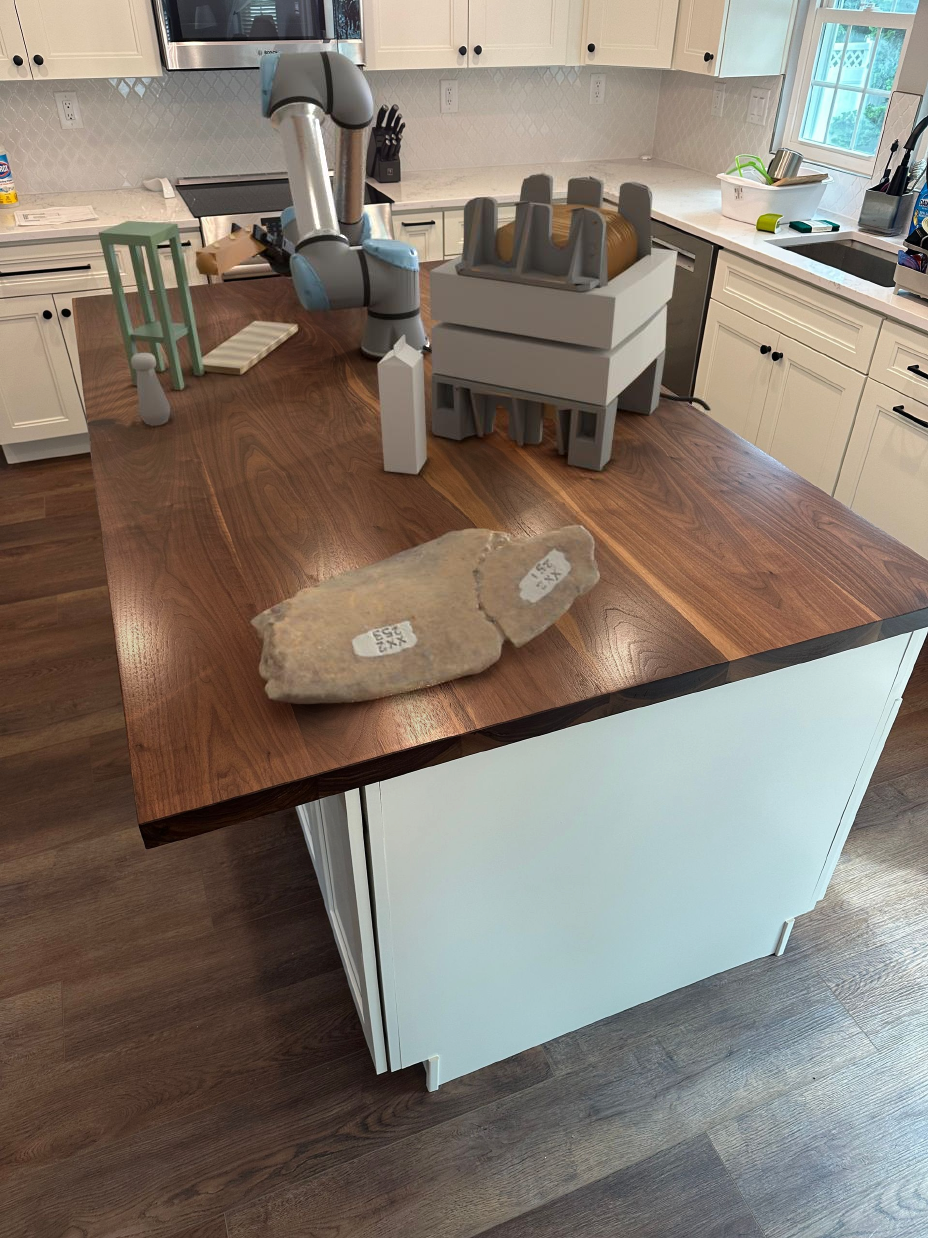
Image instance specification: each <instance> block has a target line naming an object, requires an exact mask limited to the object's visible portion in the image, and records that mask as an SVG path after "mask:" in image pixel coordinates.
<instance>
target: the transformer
mask: <svg viewBox="0 0 928 1238" xmlns="http://www.w3.org/2000/svg"><path fill="white" fill-rule="evenodd" d="M604 189H605V183H604V181H603V179H602V180H601V179H598V178H595V177H593V176H590V175H589V177H587V176H581V177H580V176H579V177H572V178H570V179H569V180H568V181H567V192H566V204H565V203H553V192H554V191H553V190H554V178H553V176H552V175H550V174H547V173H545V172H541V173H536V174H531V175H529V176H528V177H525V178H523V181H522V183H521V187H520V196H519V201H518V202H516V203H514V205H513V206H514V207H515V215H514V220H512V221H511V222H508V223H507V224H504V225H502V226H500V227H499V226H498V225H499V201H498V200H497V199H496V198H494V197H492V196H479V197H474V198H472V199H469V200H468V201H467V203H465V205H464V207H463V242H462V243H463V245H462V253H461V254H460V255H458V256H457V257H454V258H452V259H450V260H449V261H447V262H445V263H443V264H441V265H439V266H437V267H435V268H433V269H431V270H430V271H429V297H430V298H429V300H430V301H429V302H430V320H431V321H437V322H438V323H436V324H434V325H433V326H431V328H430V334H431V338H430V339H431V348H432V353H431V368H432V369H431V372H432V374H431V376H430V377H431V380H430V381H431V382H430V383H431V432H432V433H433V435H435V436H439V437H443V438H448V439H452V440H455V441H456V440H457V441H461V440H463V439H465V438H467V437H471V436H475V435H477V437H479V438H483V437H484V434H485V435H491V434H492V433H493V432H494V431H495V430H494V429H495V422H496V413H497V408H500V409H504V410H506V411H507V413H508V433H507V434H508V437H509V439H511V440H512V441H515V442H516V443H517V446H520V447H523V446H524V444H529V445H530V444H531V445H539V444H540V443H541V442H542V440H543V427H544V426H543V425H544V418H547V419H551V420H553V421H554V420H555V425H556V448H557V449H558V455H562V456H565V452H567V465H570V466H575V467H579V468H583V469H589V470H593V471H597V472H601V471H602V470H604V466H605V465H606V464H607V463H608V462H609V461H610V460H611V456H612V455H611V454H612V445H613V439H614V432H615V424H616V417H617V409H620V410H625V411H629V412H633V413H638V414H643V415H649V416H650V415H651V414H653V412H654V411H655V409H659V408H660V407H659V402H660V397H659V395H660V392H661V387H662V379H663V374H664V373H663V372H664V364H665V357H666V351H667V350H666V340H667V316H668V315H667V313H668V304H667V302H669V300H671V299H672V298H673V291H674V284H675V283H674V282H675V274H676V267H677V258H678V250H674V249H673V250H672V249H663V248H655V247H652V244H653V240H652V222H651V219H652V210H653V209H652V208H653V197H654V196H653V193H652V191H651V189H650V188H649V186H647V185H645V184H642V183H639V182H637V181H625V182H624V183H621V184H620V186H619V191H618V193H619V194H618V202H617V204H618V205H617V211H615V210H610V209H605V208H603V205H604V203H603V202H604Z"/></svg>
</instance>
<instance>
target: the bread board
mask: <svg viewBox="0 0 928 1238" xmlns="http://www.w3.org/2000/svg"><path fill="white" fill-rule="evenodd" d="M298 331H299V326H298V324H297V323H287V322H275V321H265V320H263V321H262V320H254V321H252V322H251V323H250V324H249V325H247V326H246V327H244V328H243V329H241V330H239V331H238V332H237V333H235V334H234V335H232V336H231V337H229V338H228V339H227V340H225V341H223V342H222V343H221V344H220V345H218V346H216V347H215V348H213V349H212V350H211V351H209V352H208V353H206V354H205V355H204V356H201V357H202V362H203V368H204V372H208V373H220V374H227V375H238V376H241V375H243V374H244V373H245V372H247V371H248V370H249V369H250V368H252V367H253V366H255V364H257V363H258V362H259V361H261V360H262V359H263V358H265V357H266V356H267V355H268V354H270V353H271V352H272V351H273V350H275V349H276V348H278V347H279V346H280V345H282V343H284V342H285V341H286V340H288V339H290V338H291V337H292V336H293V335H295V333H297V332H298Z"/></svg>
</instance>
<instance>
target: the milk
mask: <svg viewBox="0 0 928 1238" xmlns="http://www.w3.org/2000/svg"><path fill="white" fill-rule="evenodd" d="M376 366H377V379H378V381H377V382H378V392H379V393H378V395H379V396H378V398H379V410H380V412H379V413H380V425H381V441H382V455H383V456H382V457H383V471H385V472H390V473H400V474H407V475H409V474H410V475H418V474H419V473H420V471H421V469H422V468H423V466H424V465H425V463H426V461H427V459H428V458H427V457H428V456H427V455H428V454H427V453H428V452H427V430H426V428H427V427H426V425H427V424H426V401H425V400H426V399H425V398H426V397H425V371H424V356H423V354H421V353H420V352H418V351H417V350H415V349H414V348H412V347H411V346H409V345H408V344H406V340H405V335H403V336H402V337H401V338H400V340H399V341H398V342H397V343H396V344H395V345H394V349H393V350H391V351H390V352H388V353H387V355H386V356H385V357H384V358H383V359H382V360H381V361H379V362H378V363H377V365H376Z"/></svg>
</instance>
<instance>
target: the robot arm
mask: <svg viewBox="0 0 928 1238" xmlns="http://www.w3.org/2000/svg"><path fill="white" fill-rule="evenodd" d="M259 96H260V97H259V99H260V112H261V116H262V117H263V118H266V119H269V121H270V124H271V127H272V129H273V130H274V131H276V133H278V134H279V136H280V141H281V145H282V146H281V147H282V150H283V151H282V152H283V156H284V161H285V168H286V172H287V178H288V183H289V188H290V193H291V200H292V204H293V205H292V206H289V207H288V206H287V207H286V208H285V209H283V210H282V211H281V213H280V216H279V217H280V224H281V233H282V236H279V237H277V232H276V231H270V233H269V232H268V231H267V232H266V231H265V230H264V229H262V228H261V227H260V226H261V225H260V226H258V225H259V224H257V223H252V225H253V234H252V237H253V238H254V239H256V240H257V241H259V242H260V243H261V244H263V245H264V246H266V247H268V248H266V249H264V250H262V251H261V252H259V253H257V254H255V255H254V256H252V257H251V258H253V259H254V258H256V257H258V256H260V257H261V258H262V259H264V260H266V261H267V263H268V264H269V267H270V268H271V269H272V271H273V272H275V273H276V274H278V275H279V276H281V277H282V278H284V279H285V280H287V281H288V282H290V283H292V284H293V286H294V289H295V292H296V295H297V298H298V300H299V302H300V304H301V306H302V307H303V308H304V309H305V310H306V311H308V312H312V313H313V312H325V313H328V312H331V311H338V310H350V309H361V308H366V311H367V313H366V314H367V315H366V316H367V317H366V322H365V328H364V332H363V336H362V339H361V342H360V344H361V345H360V347H361V353H362V355H364V356H365V357H366V358H369V359H370V360H374V361H379V362H380V361H381V360H382V359H383V358H384V357H385V356H386V355H387V353H388V352H390V351H391V350H393V349H394V345H395V344H396V343H397V342H398V341H399V340H400V338H401V337H402V336H403V335H405V340H406V344H408V345H409V346H411V347H412V348H414V349H415V350H417V351H418V352H420V353H421V354H423V357H424V356H426V355H427V354H428V353H430V354H432V347H430V340H429V339H430V338H429V337H428V334H427V332H426V328H425V325H424V323H423V319H422V317H421V304H420V303H421V302H420V301H421V299H420V266H419V265H420V264H419V256H418V252H417V249H416V248H415V247H414V246H413V245H412V244H409V243H407V242H404V241H400V240H396V239H391V238H378V237H377V238H376V237H375V238H372V235H373V234H372V222H371V217H370V215H369V214H368V212H366V211H364V205H365V189H366V188H365V185H366V168H367V152H368V151H367V150H368V133H369V132H368V131H369V127H370V126H371V125H372V123H373V121H374V100H373V95H372V90H371V88H370V86H369V83H368V81H367V79H366V77H365V75H364V73H363V72H362V70H361V69H360V67H358V65H356V63H354V61H353V60H351V59H350V58H349V57H347V56H346V55H344V54H342V53H340V52H337V51H333V50H324V51H306V52H305V51H304V52H303V51H302V52H283V51H278V52H274V53H273V52H272V53H265V54H263V55H262V57H260V61H259ZM326 116H329V118H330V121H331V122H332V123H333V179H332V180H333V182H332V183H333V184H332V183H331V179H330V173H329V168H328V162H327V157H326V152H325V147H324V142H323V136H322V131H321V128H322V126H323V125H324V123H325V121H326ZM332 186H333V187H332ZM241 228H242V227H241V226H240V225H238V223H236V222H231V227H230V234H232V233H233V232H235V231H237V230H239V229H241ZM359 245H361V248H358V249H357V248H356V249H351V246H359ZM659 398H662V399H665V400H669V401H673V402H678V403H695V404H697V405H699V406H701V407H702V409H704V411H708V412H710V411H712V409H711V408H710V406H709V405H708V403H707V402H705V401H704V400H703V399H701V398H699V397H696V396H695V397H694V396H678V395H673V394H668V393H666V392H661V391H660V395H659Z"/></svg>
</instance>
